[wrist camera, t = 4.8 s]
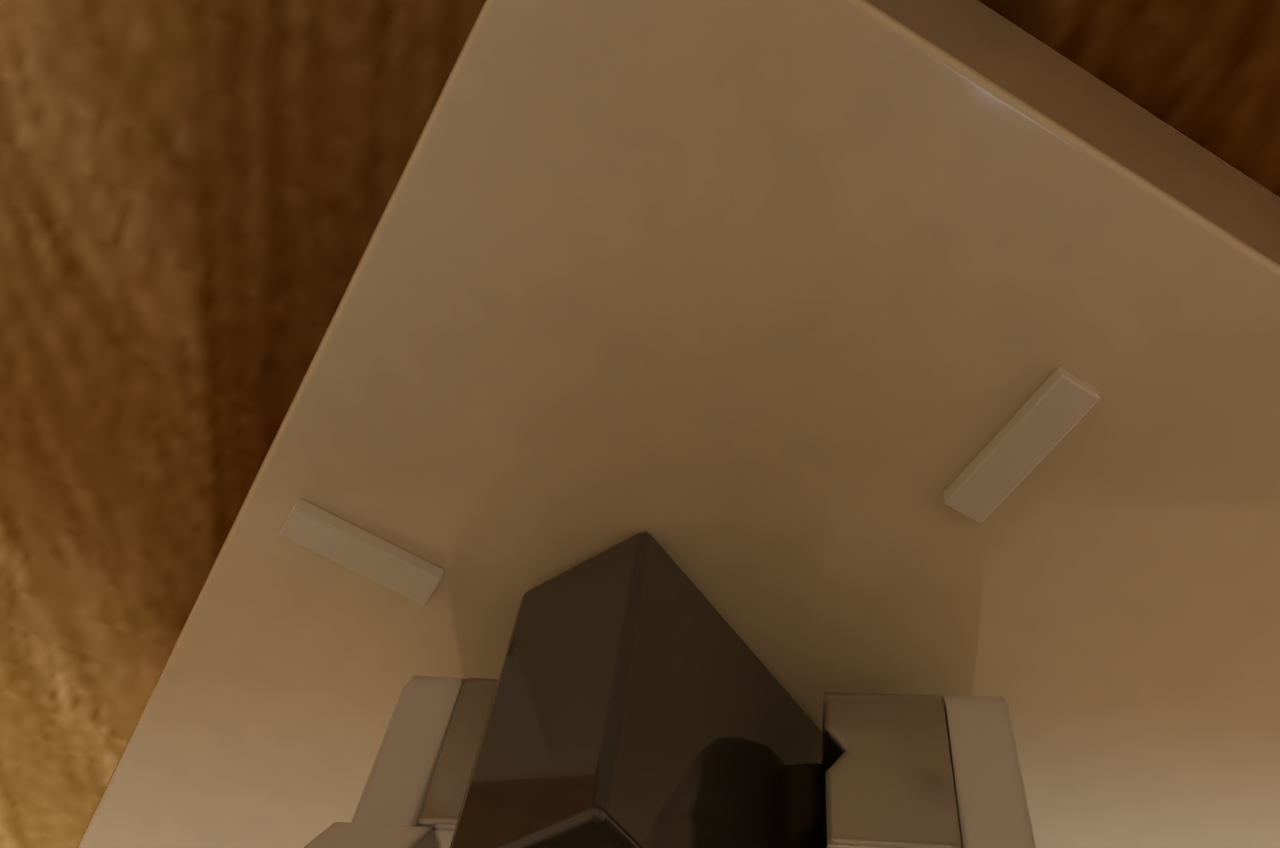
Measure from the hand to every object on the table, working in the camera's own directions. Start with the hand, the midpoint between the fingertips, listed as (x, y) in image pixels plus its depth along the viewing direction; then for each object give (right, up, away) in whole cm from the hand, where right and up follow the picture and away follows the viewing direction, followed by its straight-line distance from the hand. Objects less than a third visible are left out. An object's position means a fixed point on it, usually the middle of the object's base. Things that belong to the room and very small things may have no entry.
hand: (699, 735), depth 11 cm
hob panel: (+1, +1, +3) cm, 4 cm away
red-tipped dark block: (0, 0, +1) cm, 1 cm away
